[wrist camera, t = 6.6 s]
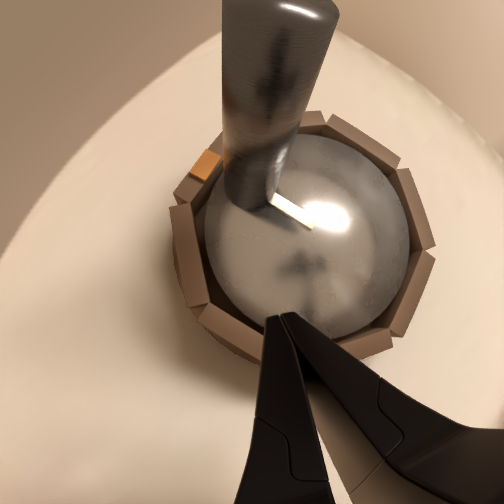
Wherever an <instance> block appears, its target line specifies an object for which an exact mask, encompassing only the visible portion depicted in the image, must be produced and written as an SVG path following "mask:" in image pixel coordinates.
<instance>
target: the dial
mask: <svg viewBox="0 0 504 504" xmlns="http://www.w3.org/2000/svg"><path fill="white" fill-rule="evenodd" d="M338 19H339V10H338V8H337V6H336V5H335V4H334V3H333V2H332V0H222V125H223V170H224V171H223V173H222V174H221V176H220V177H219V179H218V180H217V182H216V184H215V186H214V188H213V190H212V192H211V195H210V198H209V201H208V205H207V209H206V216H205V243H206V250H207V254H208V257H209V261H210V265H211V267H212V270H213V272H214V275H215V277H216V280H217V282H218V284H219V285H220V287H221V289H222V290H223V292H224V294H225V295H226V296H227V298H228V299H229V300H230V301H231V303H232V304H233V305H234V306H235V307H236V308H237V309H238V310H239V311H240V312H241V313H242V314H243V315H245V316H246V317H247V318H249V319H250V320H251V321H253V322H254V323H256V324H258V325H260V326H261V327H263V328H264V326H265V318H266V317H269V316H273V315H277V314H278V315H280V314H281V313H285V312H289V311H295V312H296V313H298V314H299V315H300V316H301V317H303V318H304V319H305V320H307V321H308V322H309V323H311V324H312V325H313V326H314V327H316V328H317V329H318V330H320V331H321V332H322V333H324V334H325V335H326V336H328V337H329V338H330V339H332V338H337V337H341V336H345V335H347V334H350V333H352V332H355V331H357V330H359V329H361V328H362V327H364V326H366V325H368V324H369V323H370V322H372V321H373V320H374V319H375V318H377V317H378V316H379V315H380V314H381V313H382V312H383V311H384V310H385V309H386V308H387V307H388V305H389V304H390V303H391V301H392V300H393V298H394V297H395V296H396V294H397V292H398V290H399V288H400V286H401V284H402V281H403V279H404V276H405V273H406V269H407V264H408V259H409V249H410V245H409V230H408V224H407V220H406V216H405V212H404V209H403V207H402V204H401V202H400V199H399V197H398V195H397V193H396V192H395V190H394V188H393V186H392V185H391V184H390V182H389V181H388V179H387V178H386V177H385V175H384V174H383V173H382V172H381V171H380V170H379V168H377V167H376V166H375V165H374V164H373V163H372V162H371V161H370V160H369V159H367V158H366V157H365V156H363V155H362V154H361V153H359V152H358V151H356V150H354V149H353V148H351V147H349V146H347V145H345V144H343V143H341V142H338V141H336V140H332V139H329V138H326V137H321V136H316V135H307V134H297V132H298V129H299V126H300V124H301V121H302V118H303V115H304V113H305V110H306V107H307V104H308V102H309V99H310V96H311V93H312V91H313V88H314V85H315V82H316V80H317V77H318V74H319V72H320V69H321V66H322V63H323V61H324V58H325V55H326V52H327V50H328V47H329V44H330V41H331V39H332V36H333V33H334V30H335V28H336V25H337V22H338Z"/></svg>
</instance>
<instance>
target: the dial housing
mask: <svg viewBox="0 0 504 504" xmlns="http://www.w3.org/2000/svg"><path fill="white" fill-rule="evenodd" d="M297 134H307V135H316V136H321V137H326V138H329V139H332V140H336V141H338V142H341V143H343V144H345V145H347V146H349V147H351V148H353V149H354V150H356V151H358V152H359V153H361V154H362V155H363V156H365V157H366V158H367V159H369V160H370V161H371V162H372V163H373V164H374V165H375V166H376V167H377V168H379V170H380V171H381V172H382V173H383V174H384V175H385V177H386V178H387V179H388V181H389V182H390V184H391V185H392V186H393V188H394V190H395V192H396V193H397V195H398V197H399V199H400V202H401V204H402V207H403V209H404V212H405V216H406V220H407V224H408V230H409V245H410V249H409V259H408V264H407V269H406V273H405V276H404V279H403V281H402V284H401V286H400V288H399V290H398V292H397V294H396V296H395V297H394V298H393V300H392V301H391V303H390V304H389V305H388V307H387V308H386V309H385V310H384V311H383V312H382V313H381V314H380V315H379V316H378V317H377V318H375V319H374V320H373V321H372V322H370V323H369V324H368V325H366V326H364V327H362V328H361V329H359V330H357V331H355V332H352V333H350V334H347V335H345V336H341V337H337V338H332V339H331V340H333V341H334V342H335V343H337V344H338V345H339V346H341V347H342V348H343V349H345V350H346V351H347V352H349V353H350V354H351V355H353V356H354V357H355V358H357V359H358V360H361V359H364V358H366V357H369V356H372V355H374V354H377V353H380V352H382V351H385V350H387V349H390V348H392V347H393V344H392V339H391V337H402V338H403V336H404V334H405V332H406V330H407V328H408V326H409V324H410V321H411V319H412V317H413V315H414V312H415V310H416V308H417V305H418V303H419V301H420V298H421V296H422V293H423V291H424V288H425V286H426V283H427V281H428V278H429V275H430V273H431V270H432V267H433V265H434V262H435V258H434V257H433V256H431V255H430V254H429V253H427V252H426V251H425V250H427V249H429V248H432V247H434V246H436V245H435V242H434V239H433V235H432V232H431V229H430V226H429V222H428V219H427V216H426V213H425V210H424V208H423V205H422V202H421V199H420V196H419V194H418V191H417V188H416V186H415V183H414V180H413V178H412V175H411V173H410V170H409V168H405V169H397V166H398V164H399V161H400V159H401V158H400V157H398V156H397V155H396V154H394V153H393V152H391V151H390V150H389V149H387V148H386V147H384V146H383V145H381V144H380V143H378V142H377V141H375V140H374V139H372V138H371V137H369V136H368V135H366V134H365V133H363V132H362V131H360V130H359V129H357V128H355V127H354V126H352V125H351V124H349V123H347V122H346V121H344V120H342V119H341V118H339V117H337V116H336V115H334V114H332V115H331V117H330V118H329V120H328V121H327V123H326V122H325V120H324V118H323V115H322V113H321V111H307V112H305V113H304V115H303V118H302V121H301V124H300V126H299V129H298V132H297ZM223 171H224V170H223V131H222V132H221V133H220V135H219V136H218V137H217V138H216V139H215V141H214V142H213V143H212V144H211V145H210V147H209V148H208V149H206V150H205V151H204V152H203V154H202V155H201V156H200V158H199V159H198V160H197V162H196V163H195V165H194V166H193V167H192V169H191V170H190V171H189V173H188V174H187V175H186V177H185V178H184V179H183V180H182V182H181V183H180V184H179V186H178V187H177V188H176V190H175V191H174V192H173V194H174V197H175V199H176V201H177V204H178V205H177V206H172V207H169V210H170V216H171V222H172V229H173V255H174V264H175V269H176V273H177V277H178V281H179V284H180V286H181V289H182V291H183V294H184V296H185V299H186V304H187V307H188V308H191V309H192V311H193V313H194V314H195V316H196V317H197V318H198V320H197V322H199V323H200V324H202V325H203V326H204V327H205V328H206V330H207V331H208V332H209V333H210V334H211V335H212V336H214V337H215V338H216V339H217V340H218V341H219V342H220V343H221V344H223V345H224V346H225V347H227V348H228V349H230V350H231V351H232V352H234V353H235V354H237V355H239V356H241V357H243V358H245V359H247V360H249V361H251V362H253V363H256V364H259V365H260V364H261V355H262V345H263V336H264V328H263V327H261V326H260V325H258V324H256V323H254V322H253V321H251V320H250V319H249V318H247V317H246V316H245V315H243V314H242V313H241V312H240V311H239V310H238V309H237V308H236V307H235V306H234V305H233V304H232V303H231V301H230V300H229V299H228V298H227V296H226V295H225V294H224V292H223V290H222V289H221V287H220V285H219V284H218V282H217V280H216V277H215V275H214V272H213V270H212V267H211V265H210V261H209V257H208V254H207V250H206V243H205V216H206V209H207V205H208V201H209V198H210V195H211V192H212V190H213V188H214V186H215V184H216V182H217V180H218V179H219V177H220V176H221V174H222V173H223Z"/></svg>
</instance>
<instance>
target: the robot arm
mask: <svg viewBox="0 0 504 504" xmlns="http://www.w3.org/2000/svg"><path fill="white" fill-rule="evenodd" d="M316 428H317V429H316ZM317 430H318V432H319V434H320V436H321V438H322V441H323V443H324V445H325V447H326V449H327V451H328V453H329V455H330V457H331V460H332V462H333V464H334V466H335V468H336V470H337V472H338V474H339V476H340V478H341V480H342V482H343V484H344V487H345V489H346V491H347V493H348V495H349V497H350V499H351V501H352V503H353V504H504V429H486V428H473V427H468V426H465V425H462V424H459V423H457V422H455V421H453V420H451V419H449V418H447V417H445V416H443V415H442V414H440V413H438V412H436V411H434V410H432V409H431V408H429V407H427V406H425V405H423V404H421V403H420V402H418V401H416V400H415V399H413V398H411V397H410V396H408V395H406V394H405V393H403V392H402V391H400V390H399V389H397V388H396V387H395V386H393V385H392V384H390V383H389V382H388V381H386V380H385V379H384V378H382V377H381V378H380V376H379V375H378V374H377V373H375V372H374V371H373V370H371V369H370V368H369V367H367V366H366V365H365V364H363V363H362V362H361V361H359V360H358V359H357V358H355V357H354V356H353V355H351V354H350V353H349V352H347V351H346V350H345V349H343V348H342V347H341V346H339V345H338V344H337V343H335V342H334V341H333V340H331V339H330V338H329V337H328V336H326V335H325V334H324V333H322V332H321V331H320V330H318V329H317V328H316V327H314V326H313V325H312V324H311V323H309V322H308V321H307V320H305V319H304V318H303V317H301V316H300V315H299V314H298V313H296V312H295V311H289V312H285V313H281V314H280V315H278V314H277V315H273V316H269V317H266V318H265V326H264V336H263V345H262V355H261V364H260V373H259V382H258V391H257V400H256V409H255V418H254V425H253V432H252V439H251V445H250V450H249V454H248V458H247V462H246V465H245V469H244V472H243V475H242V479H241V482H240V485H239V489H238V492H237V495H236V498H235V501H234V504H336V503H335V500H334V497H333V494H332V491H331V487H330V483H329V482H328V481H329V478H328V474H327V470H326V466H325V462H324V458H323V454H322V450H321V446H320V441H319V437H318V433H317Z"/></svg>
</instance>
